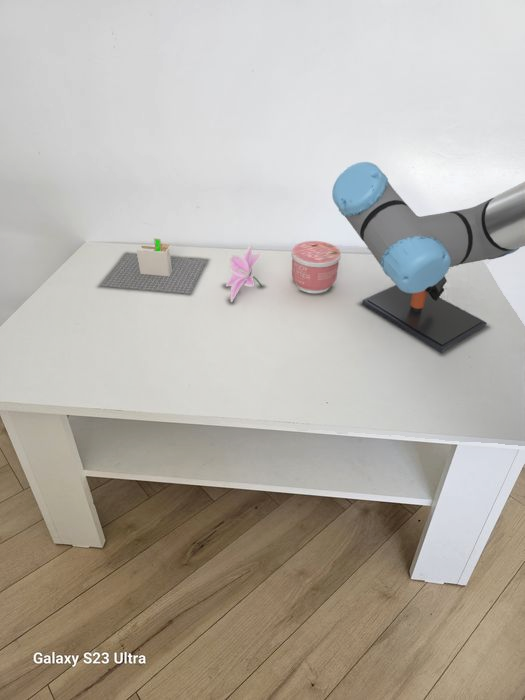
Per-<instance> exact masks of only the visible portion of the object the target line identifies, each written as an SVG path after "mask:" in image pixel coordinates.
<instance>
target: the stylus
mask: <svg viewBox="0 0 525 700" xmlns="http://www.w3.org/2000/svg"><path fill="white" fill-rule="evenodd" d="M426 296H427V292H426V291H425V290H424V291H422V292H419V293H413V295H412V299H411V303H410V305H411V307H410V309H411V310H412V311H413V312H420V311H421V310H422V308H423V307H424V303H425V299H426Z"/></svg>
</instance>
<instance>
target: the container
mask: <svg viewBox="0 0 525 700" xmlns="http://www.w3.org/2000/svg"><path fill="white" fill-rule="evenodd" d="M290 252H291V253H290V254H291V276H292V279H293V282H294V283H295V284H296V287H297V288H298V289H299V290H300V291H302V292H305V293H308V294H323V293H325V292H327V291H328V290H330V288H331V287H332V285H333V284H334V283H335V281H336V280H337V276H338V269H339V264H340V260H341V258H342V252H341V250H340V248H338V247H337V246H336V245H334V244H331V243H330V242H326V241H321V240H320V241H319V240H307V241H302V242H300V243H297V244H295V245H294V246H293V247H292V248H291V251H290Z"/></svg>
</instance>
